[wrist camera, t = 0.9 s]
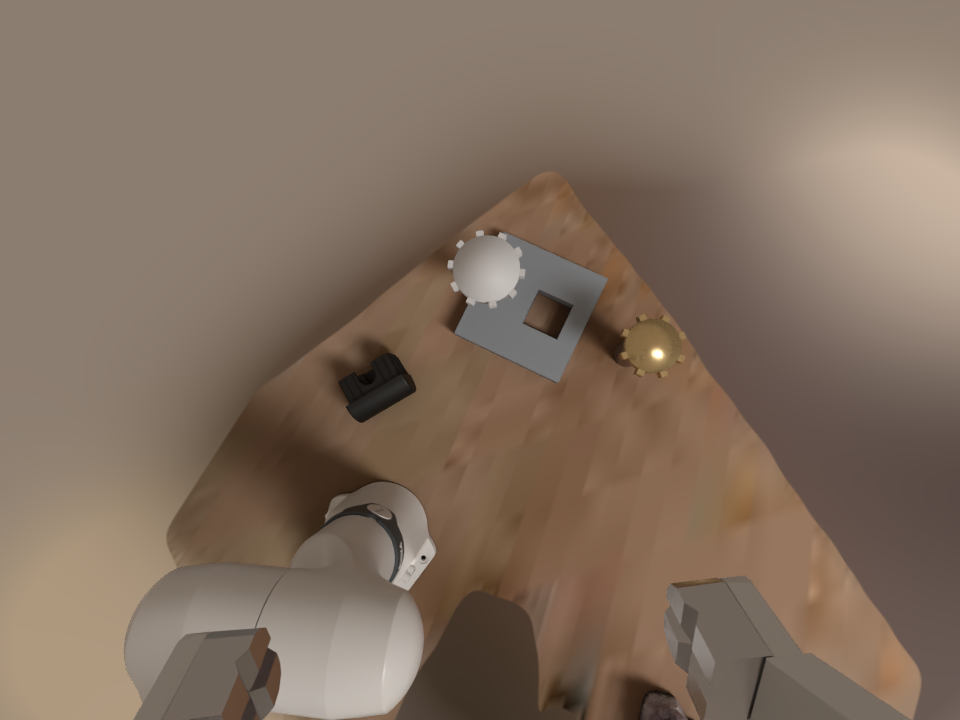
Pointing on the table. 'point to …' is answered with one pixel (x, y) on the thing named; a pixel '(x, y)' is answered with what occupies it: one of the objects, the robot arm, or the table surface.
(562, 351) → the gear board
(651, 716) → the geode
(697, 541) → the table surface
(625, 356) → the gear axle
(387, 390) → the end cap
